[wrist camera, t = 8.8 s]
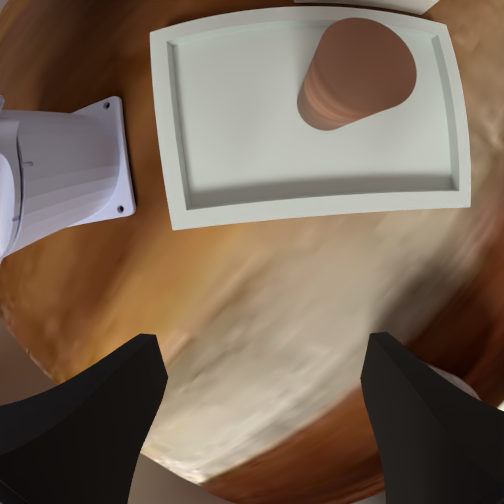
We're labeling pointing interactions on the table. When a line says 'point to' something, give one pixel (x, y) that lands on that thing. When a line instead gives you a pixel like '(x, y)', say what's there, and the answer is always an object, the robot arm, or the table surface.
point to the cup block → (384, 4)
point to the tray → (299, 123)
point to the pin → (355, 74)
